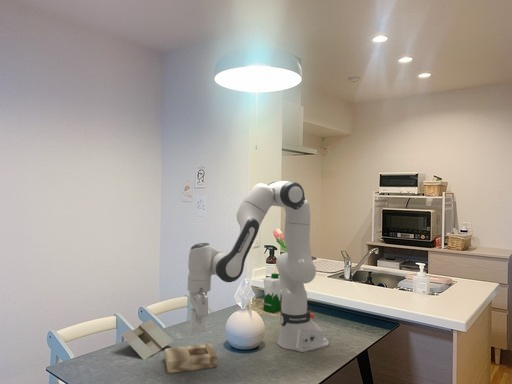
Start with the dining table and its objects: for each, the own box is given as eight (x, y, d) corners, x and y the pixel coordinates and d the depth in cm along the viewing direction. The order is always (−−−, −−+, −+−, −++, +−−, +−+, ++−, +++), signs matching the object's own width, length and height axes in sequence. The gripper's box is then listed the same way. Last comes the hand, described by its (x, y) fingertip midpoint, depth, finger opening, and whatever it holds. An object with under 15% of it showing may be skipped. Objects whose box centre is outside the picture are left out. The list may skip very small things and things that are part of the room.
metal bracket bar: (203, 328, 149) (203, 307, 149) (204, 331, 145) (205, 310, 145) (190, 329, 148) (191, 308, 148) (191, 332, 144) (192, 311, 144)
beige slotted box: (167, 351, 165) (147, 324, 170) (174, 340, 161) (154, 313, 166) (136, 371, 152) (115, 341, 157) (143, 360, 148) (122, 329, 153)
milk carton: (283, 310, 211) (283, 274, 211) (273, 314, 205) (274, 277, 204) (270, 307, 217) (271, 272, 217) (260, 310, 210) (261, 274, 210)
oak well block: (210, 353, 154) (210, 343, 154) (216, 366, 143) (216, 356, 143) (164, 358, 149) (165, 348, 149) (167, 373, 137) (168, 362, 137)
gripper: (212, 292, 138) (211, 330, 138) (202, 279, 157) (201, 312, 157) (195, 292, 136) (194, 331, 136) (187, 279, 155) (186, 313, 155)
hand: (198, 321), depth 146 cm, fingers closed on metal bracket bar, 4 cm apart
